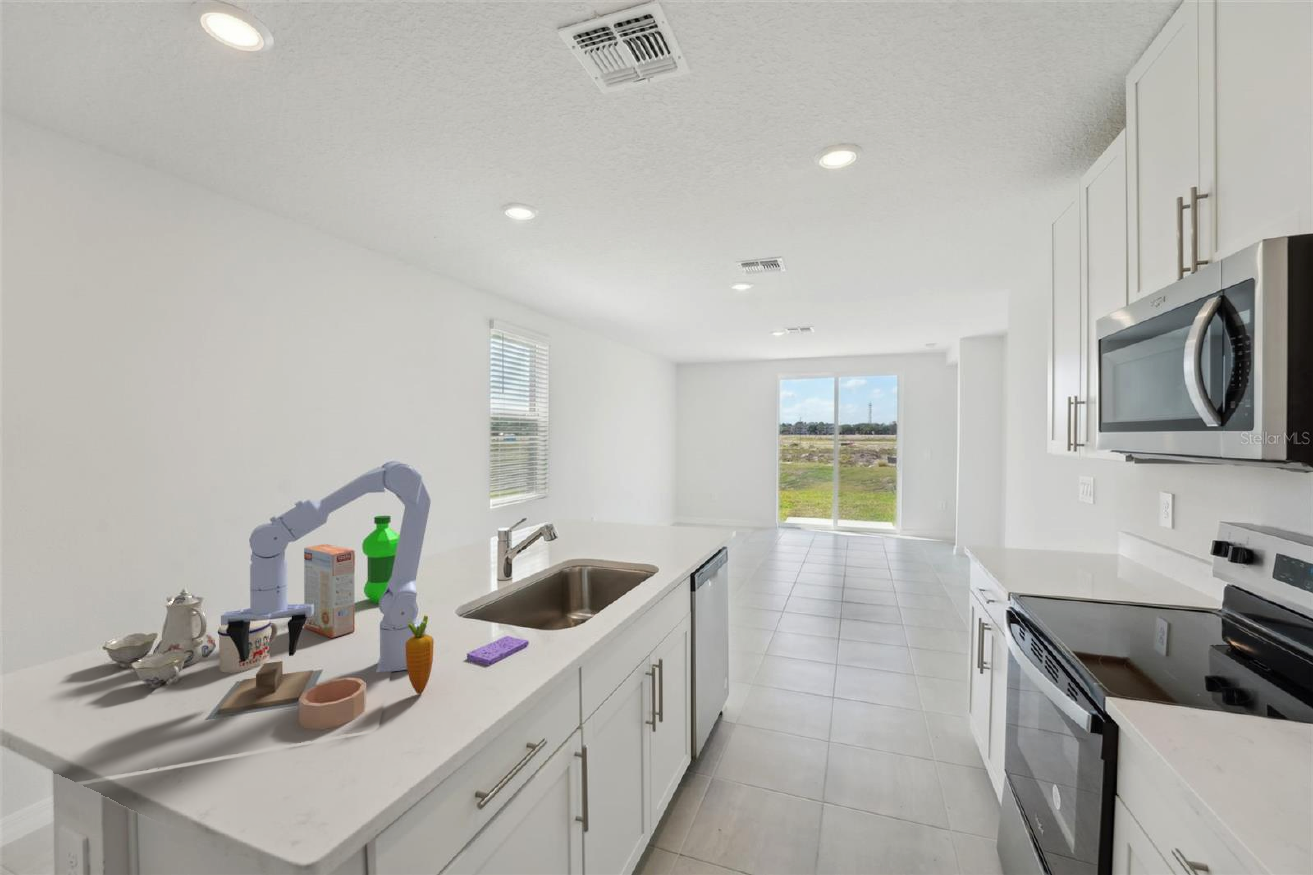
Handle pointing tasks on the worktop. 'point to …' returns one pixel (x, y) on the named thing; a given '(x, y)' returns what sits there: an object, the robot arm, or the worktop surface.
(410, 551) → the robot arm
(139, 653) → the chinaware
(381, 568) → the plastic bottle
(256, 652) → the teacup with lid
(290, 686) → the walnut lid
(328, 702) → the terracotta bowl
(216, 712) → the rubber mat
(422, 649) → the carrot
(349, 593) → the cracker box
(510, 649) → the sponges
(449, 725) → the worktop surface
